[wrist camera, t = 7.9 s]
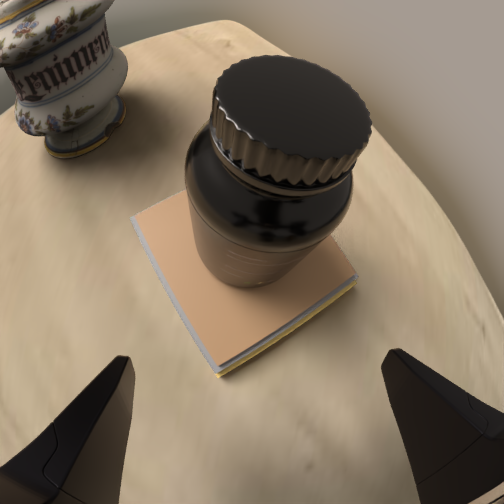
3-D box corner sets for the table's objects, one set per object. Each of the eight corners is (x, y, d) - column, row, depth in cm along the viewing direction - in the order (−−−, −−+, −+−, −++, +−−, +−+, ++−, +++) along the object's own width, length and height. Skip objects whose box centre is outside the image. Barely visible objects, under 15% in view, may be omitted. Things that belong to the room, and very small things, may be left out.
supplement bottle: (191, 197, 18) (182, 38, 7) (287, 191, 20) (355, 54, 8) (199, 297, 16) (174, 200, 5) (305, 285, 18) (435, 195, 6)
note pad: (217, 375, 17) (218, 380, 15) (135, 228, 20) (126, 214, 17) (349, 286, 21) (366, 279, 18) (265, 166, 23) (271, 147, 21)
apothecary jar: (95, 179, 21) (16, -2, 4) (20, 158, 20) (-51, 41, 3) (156, 93, 25) (146, -57, 8) (79, 85, 24) (48, -30, 8)
